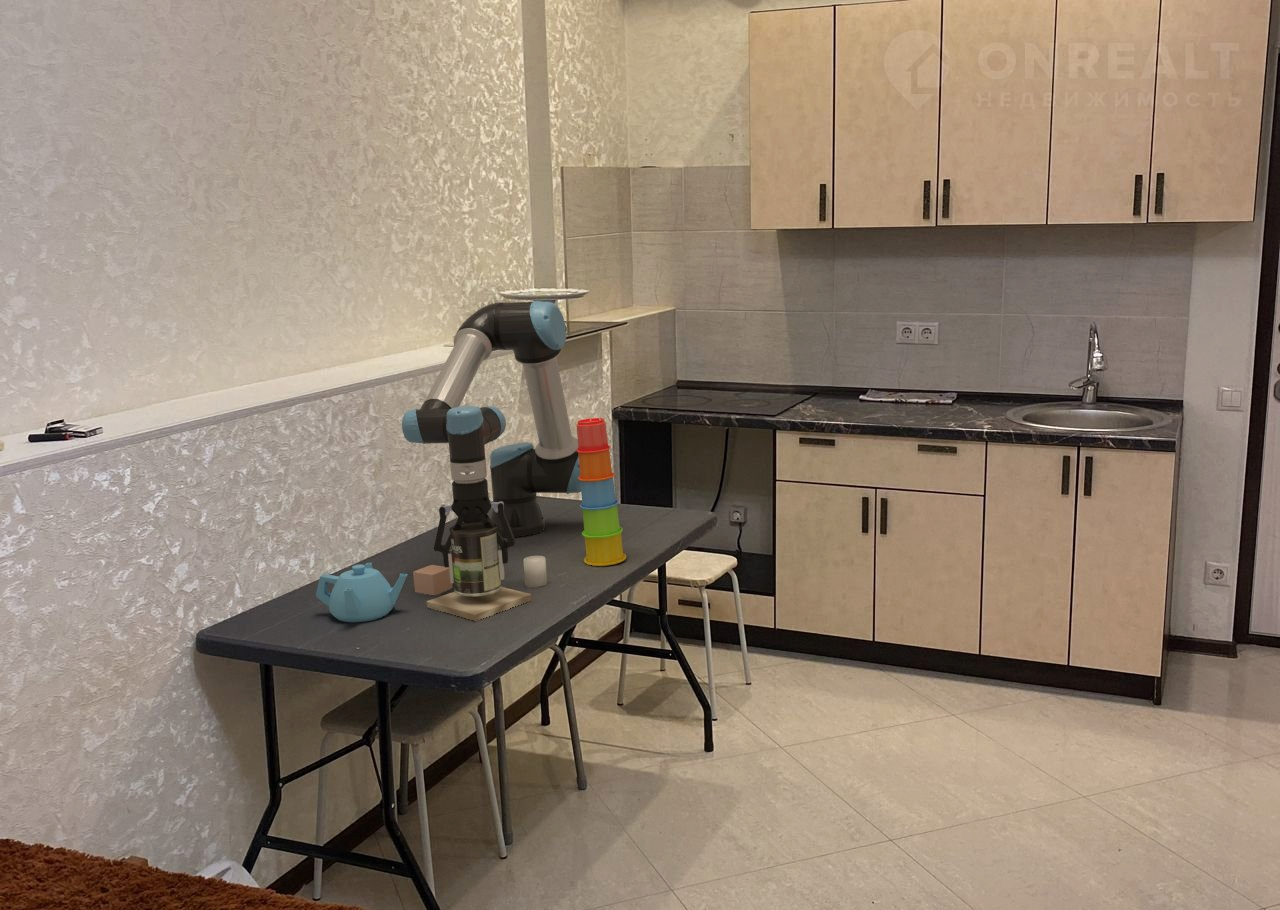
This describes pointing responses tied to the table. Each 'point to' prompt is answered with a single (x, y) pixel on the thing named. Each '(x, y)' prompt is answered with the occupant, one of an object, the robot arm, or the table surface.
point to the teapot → (359, 594)
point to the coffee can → (475, 559)
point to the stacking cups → (598, 495)
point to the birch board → (479, 603)
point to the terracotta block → (432, 580)
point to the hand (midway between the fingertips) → (477, 579)
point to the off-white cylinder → (535, 571)
